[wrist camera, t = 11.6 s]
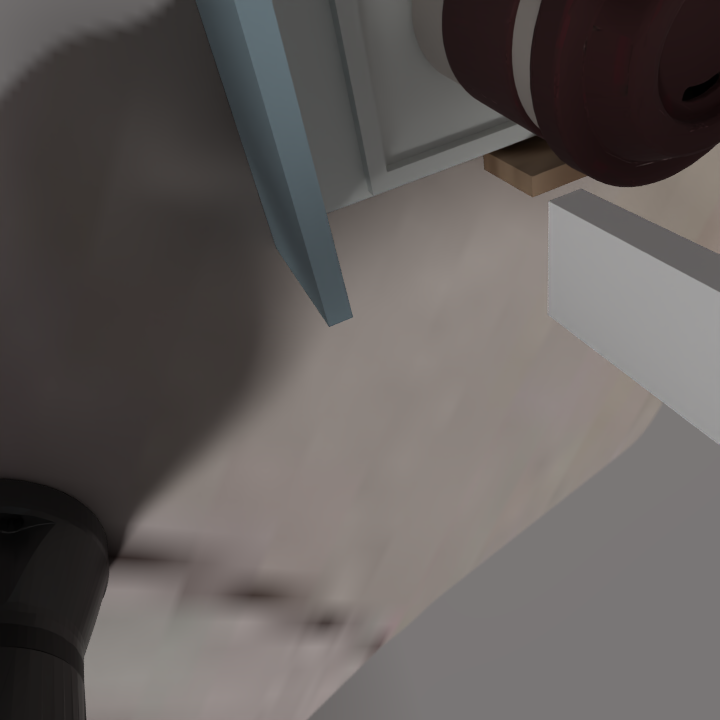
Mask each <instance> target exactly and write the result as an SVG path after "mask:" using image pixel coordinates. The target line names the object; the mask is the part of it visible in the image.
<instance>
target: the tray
mask: <svg viewBox="0 0 720 720" xmlns="http://www.w3.org/2000/svg"><path fill="white" fill-rule="evenodd" d="M195 1H196V4H197V7H198V10H199V13H200V16H201V19H202V22H203V25H204V28H205V32H206V35H207V38H208V41H209V44H210V47H211V50H212V53H213V56H214V59H215V62H216V65H217V68H218V71H219V74H220V77H221V80H222V84H223V87H224V90H225V93H226V96H227V99H228V102H229V105H230V108H231V111H232V114H233V117H234V120H235V123H236V126H237V129H238V132H239V136H240V139H241V142H242V145H243V148H244V151H245V154H246V157H247V160H248V163H249V166H250V169H251V172H252V175H253V178H254V181H255V184H256V188H257V191H258V194H259V197H260V200H261V203H262V206H263V209H264V212H265V215H266V218H267V221H268V224H269V227H270V230H271V233H272V237H273V240H274V243H275V246H276V249H277V250H278V251H279V253H280V254H281V256H282V257H283V259H284V260H285V262H286V263H287V265H288V266H289V268H290V269H291V271H292V272H293V274H294V275H295V277H296V278H297V280H298V281H299V283H300V284H301V286H302V287H303V289H304V290H305V292H306V293H307V295H308V296H309V298H310V299H311V301H312V302H313V304H314V305H315V306H316V308H317V309H318V311H319V312H320V314H321V315H322V317H323V318H324V320H325V321H326V323H327V324H328V326H329V327H330V326H333V325H335V324H338V323H340V322H342V321H345V320H347V319H350V318H352V317H353V315H352V312H351V308H350V304H349V300H348V296H347V292H346V288H345V284H344V280H343V277H342V273H341V269H340V265H339V261H338V257H337V253H336V249H335V245H334V241H333V238H332V234H331V230H330V226H329V222H328V218H327V213H330V212H332V211H335V210H338V209H340V208H343V207H346V206H349V205H351V204H354V203H357V202H359V201H362V200H365V199H367V198H370V197H373V196H375V195H378V194H381V193H383V192H386V191H389V190H391V189H394V188H397V187H399V186H402V185H405V184H407V183H410V182H413V181H415V180H418V179H421V178H423V177H426V176H429V175H431V174H434V173H437V172H439V171H442V170H445V169H447V168H450V167H453V166H455V165H458V164H461V163H463V162H466V161H469V160H471V159H474V158H477V157H480V156H482V155H485V154H488V153H490V152H493V151H496V150H498V149H501V148H504V147H506V146H509V145H512V144H514V143H517V142H520V141H522V140H525V139H528V138H530V137H533V136H536V135H535V134H533V133H532V132H530V131H528V130H527V129H525V128H523V127H522V126H520V125H518V124H516V123H515V122H513V121H511V120H510V119H508V118H506V117H505V116H503V115H501V114H499V113H498V112H496V111H494V110H493V109H491V108H489V107H488V106H486V105H484V104H482V103H481V102H479V101H478V100H476V99H475V98H473V97H472V96H471V95H470V94H469V93H468V92H466V91H465V89H464V88H463V87H462V86H461V85H460V84H458V83H456V82H455V81H453V80H451V79H449V78H448V77H446V76H444V75H443V74H441V73H440V72H438V71H437V70H436V69H435V68H434V67H433V66H432V65H431V64H430V63H429V61H428V60H427V59H426V58H425V56H424V54H423V52H422V51H421V49H420V47H419V45H418V42H417V39H416V36H415V33H414V28H413V22H412V0H195Z"/></svg>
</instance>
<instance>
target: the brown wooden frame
mask: <svg viewBox="0 0 720 720" xmlns="http://www.w3.org/2000/svg"><path fill="white" fill-rule="evenodd" d="M483 156H484V169H485V170H486V171H488V172H490V173H491V174H493V175H495V176H497V177H498V178H500V179H502V180H504V181H505V182H507V183H509V184H510V185H512V186H514V187H516V188H517V189H519V190H521V191H523V192H524V193H526V194H528V195H529V196H531V197H534V196H537V195H540V194H542V193H545V192H547V191H550V190H552V189H555V188H557V187H560V186H562V185H565V184H567V183H570V182H573V181H575V180H578V179H580V178H583V177H585V176H587V175H585V174H583V173H581V172H579V171H577V170H575V169H573V168H571V167H570V166H568V165H567V164H566V163H564V162H563V161H562V160H560V159H559V157H558V156H557V155H556V154H555V153H554V152H553V151H552V149H551V148H550V147H549V145H548V144H547V142H546V140H544V139H542V138H540V137H538V136H537V135H536V136H533V137H530V138H528V139H525V140H522V141H520V142H517V143H514V144H512V145H509V146H506V147H504V148H501V149H498V150H496V151H493V152H490V153H488V154H485V155H483Z"/></svg>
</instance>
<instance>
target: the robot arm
mask: <svg viewBox="0 0 720 720" xmlns="http://www.w3.org/2000/svg"><path fill="white" fill-rule="evenodd" d="M548 315H549V316H550V317H551V318H553V319H554V320H555V321H557V322H558V323H559V324H561V325H562V326H563V327H565V328H566V329H567V330H569V331H570V332H571V333H573V334H574V335H575V336H576V337H578V338H579V339H580V340H582V341H583V342H584V343H586V344H587V345H588V346H590V347H591V348H592V349H594V350H595V351H596V352H598V353H599V354H600V355H601V356H603V357H604V358H605V359H607V360H608V361H609V362H611V363H612V364H613V365H615V366H616V367H617V368H619V369H620V370H621V371H623V372H624V373H625V374H626V375H628V376H629V377H630V378H632V379H633V380H634V381H636V382H637V383H638V384H640V385H641V386H642V387H644V388H645V389H646V390H648V391H649V392H650V393H652V394H653V395H654V396H655V397H657V398H658V399H659V400H661V401H662V402H663V403H665V404H666V405H667V406H669V407H670V408H671V409H673V410H674V411H675V412H677V413H678V414H679V415H680V416H682V417H683V418H684V419H686V420H687V421H688V422H690V423H691V424H692V425H694V426H695V427H696V428H698V429H699V430H700V431H702V432H703V433H704V434H706V435H707V436H708V437H710V438H711V439H712V440H713V441H715V442H716V443H717V444H719V445H720V254H718V253H715V252H713V251H711V250H709V249H707V248H705V247H703V246H701V245H699V244H697V243H694V242H692V241H690V240H688V239H686V238H684V237H682V236H680V235H678V234H676V233H673V232H671V231H669V230H667V229H665V228H663V227H661V226H659V225H657V224H655V223H653V222H650V221H648V220H646V219H644V218H642V217H640V216H638V215H636V214H634V213H632V212H629V211H627V210H625V209H623V208H621V207H619V206H617V205H615V204H613V203H611V202H608V201H606V200H604V199H602V198H600V197H598V196H596V195H594V194H592V193H590V192H588V191H585V190H583V189H579V190H576V191H573V192H571V193H568V194H566V195H563V196H561V197H558V198H556V199H553V200H550V201H549V222H548ZM108 578H109V558H108V545H107V538H106V535H105V532H104V530H103V527H102V525H101V524H100V522H99V521H98V519H97V518H96V517H95V515H94V514H93V513H92V512H91V511H90V510H89V509H88V508H87V507H85V506H84V505H83V504H81V503H80V502H79V501H77V500H75V499H74V498H72V497H70V496H68V495H66V494H64V493H62V492H60V491H57V490H55V489H52V488H49V487H46V486H42V485H38V484H34V483H29V482H24V481H17V480H8V479H0V720H86V704H85V689H84V655H85V652H86V649H87V646H88V643H89V640H90V637H91V635H92V632H93V628H94V625H95V622H96V619H97V616H98V612H99V609H100V606H101V602H102V599H103V597H104V595H105V592H106V588H107V584H108Z"/></svg>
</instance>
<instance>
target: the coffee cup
mask: <svg viewBox="0 0 720 720" xmlns="http://www.w3.org/2000/svg"><path fill="white" fill-rule="evenodd" d="M412 22H413V28H414V33H415V36H416V39H417V42H418V45H419V47H420V49H421V51H422V52H423V54H424V56H425V58H426V59H427V60H428V61H429V63H430V64H431V65H432V66H433V67H434V68H435V69H436V70H437V71H438V72H440V73H441V74H443V75H444V76H446V77H448V78H449V79H451V80H453V81H455V82H456V83H458V84H460V85H461V86H462V87H463V88H464V89H465V91H466V92H468V93H469V94H470V95H471V96H472V97H473V98H475V99H476V100H478V101H479V102H481V103H482V104H484V105H486V106H488V107H489V108H491V109H493V110H494V111H496V112H498V113H499V114H501V115H503V116H505V117H506V118H508V119H510V120H511V121H513V122H515V123H516V124H518V125H520V126H522V127H523V128H525V129H527V130H528V131H530V132H532V133H533V134H535V135H537V136H538V137H540V138H542V139H544V140H546V142H547V144H548V145H549V147H550V148H551V149H552V151H553V152H554V153H555V154H556V155H557V156H558V157H559V159H560V160H562V161H563V162H564V163H566V164H567V165H568V166H570V167H571V168H573V169H575V170H577V171H579V172H581V173H583V174H585V175H587V176H589V177H591V178H593V179H595V180H597V181H600V182H602V183H605V184H608V185H612V186H618V187H636V186H643V185H647V184H651V183H655V182H658V181H661V180H664V179H666V178H668V177H671V176H673V175H675V174H676V173H678V172H680V171H682V170H683V169H685V168H687V167H688V166H690V165H692V164H693V163H694V162H696V161H697V160H698V159H700V158H701V157H702V156H704V155H705V154H706V153H708V152H709V151H710V150H711V149H712V148H713V147H714V146H715V145H717V144H718V143H720V0H412Z"/></svg>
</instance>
